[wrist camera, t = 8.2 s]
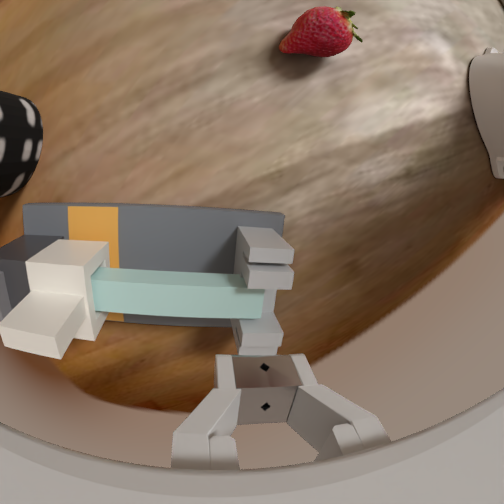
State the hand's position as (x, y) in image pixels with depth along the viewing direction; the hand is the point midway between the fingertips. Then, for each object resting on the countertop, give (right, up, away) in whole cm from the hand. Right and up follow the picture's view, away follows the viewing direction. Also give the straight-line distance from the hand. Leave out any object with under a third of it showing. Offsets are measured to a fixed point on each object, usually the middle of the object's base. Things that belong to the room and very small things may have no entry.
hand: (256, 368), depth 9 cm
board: (-8, +3, +11) cm, 14 cm away
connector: (-16, +3, +9) cm, 19 cm away
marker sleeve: (-12, +3, +8) cm, 14 cm away
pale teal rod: (-8, +2, +7) cm, 11 cm away
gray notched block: (0, +3, +12) cm, 13 cm away
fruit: (+4, +20, +8) cm, 22 cm away
